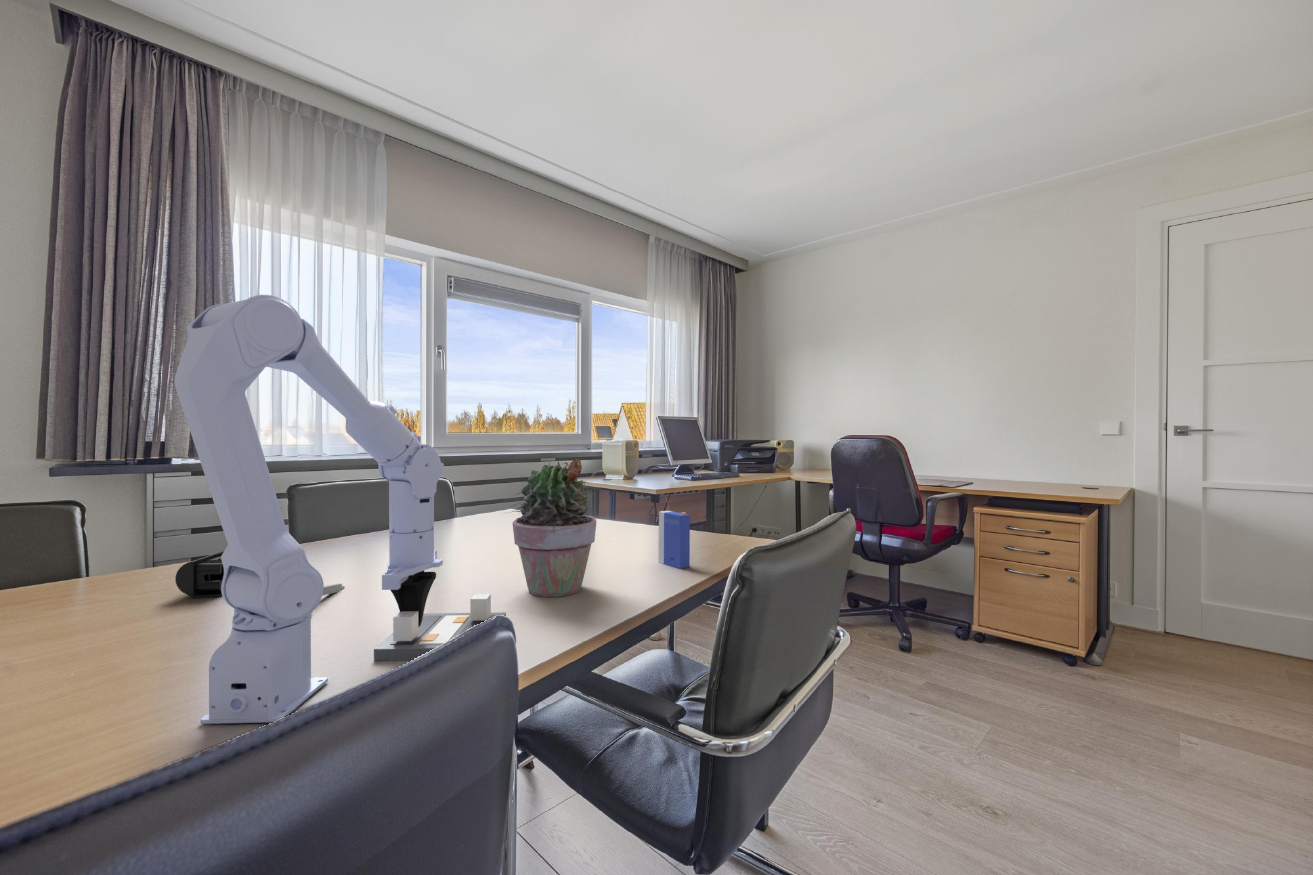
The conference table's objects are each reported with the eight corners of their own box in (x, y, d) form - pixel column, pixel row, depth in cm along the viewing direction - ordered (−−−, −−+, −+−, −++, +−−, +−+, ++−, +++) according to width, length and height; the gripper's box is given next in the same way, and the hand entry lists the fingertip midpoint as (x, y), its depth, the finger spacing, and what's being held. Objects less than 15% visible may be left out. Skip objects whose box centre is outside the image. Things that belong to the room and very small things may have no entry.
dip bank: (482, 658, 73) (482, 645, 73) (373, 660, 72) (373, 647, 72) (506, 621, 87) (506, 611, 87) (415, 623, 86) (415, 612, 86)
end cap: (212, 584, 107) (212, 549, 107) (252, 583, 108) (252, 548, 108) (174, 600, 97) (174, 562, 97) (218, 599, 98) (218, 561, 98)
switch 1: (411, 640, 74) (411, 617, 74) (393, 641, 74) (393, 617, 74) (418, 634, 76) (418, 611, 76) (400, 634, 76) (400, 611, 76)
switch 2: (486, 620, 82) (486, 598, 82) (470, 620, 82) (470, 599, 82) (490, 614, 84) (490, 594, 84) (474, 615, 84) (474, 594, 84)
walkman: (689, 567, 122) (690, 513, 122) (680, 569, 120) (680, 514, 120) (667, 560, 128) (667, 508, 128) (658, 562, 127) (658, 509, 127)
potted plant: (530, 572, 117) (530, 454, 116) (616, 581, 111) (616, 456, 110) (477, 597, 99) (477, 458, 99) (575, 608, 93) (576, 461, 93)
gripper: (421, 540, 70) (422, 646, 70) (457, 520, 84) (457, 609, 85) (364, 540, 70) (365, 647, 70) (410, 521, 84) (410, 609, 84)
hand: (412, 626), depth 77 cm, fingers closed
